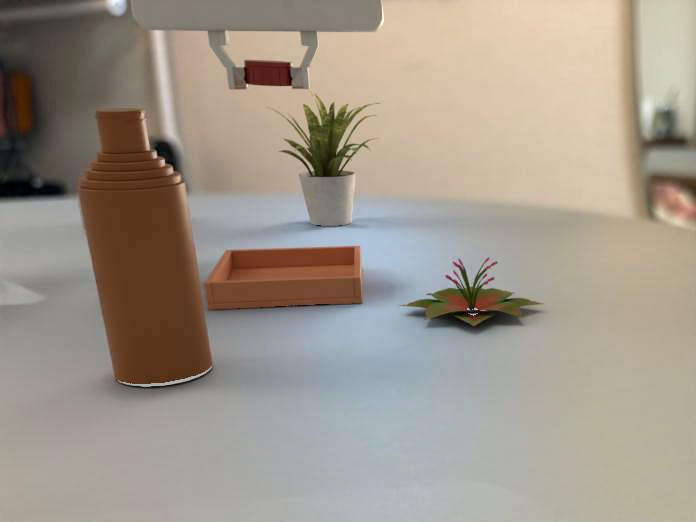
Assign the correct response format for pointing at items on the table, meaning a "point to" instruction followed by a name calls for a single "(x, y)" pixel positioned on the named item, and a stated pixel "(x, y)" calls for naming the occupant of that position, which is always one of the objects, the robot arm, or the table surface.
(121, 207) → the bottle
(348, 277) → the tray
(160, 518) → the table surface
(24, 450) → the table surface
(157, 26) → the robot arm
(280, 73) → the cap
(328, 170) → the house plant
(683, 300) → the table surface
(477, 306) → the flowering rosette plant
